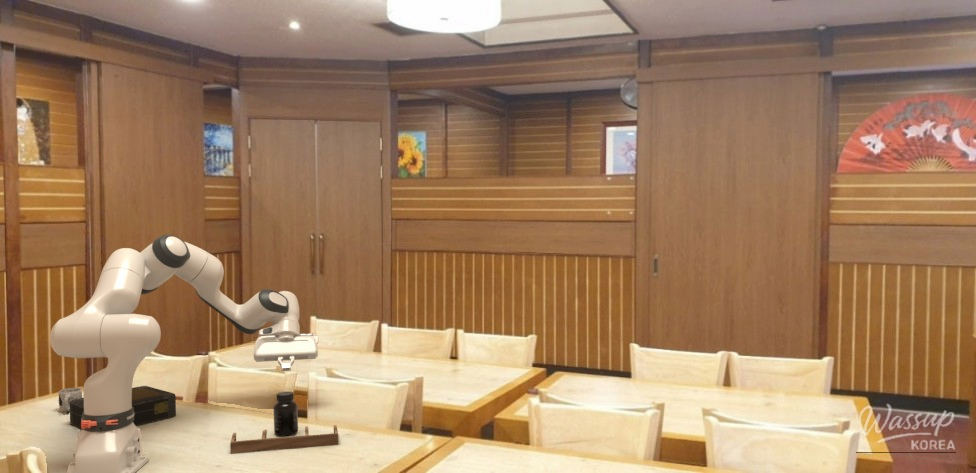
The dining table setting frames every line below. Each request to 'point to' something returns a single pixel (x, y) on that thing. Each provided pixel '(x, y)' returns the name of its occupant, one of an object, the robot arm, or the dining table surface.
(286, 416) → the supplement bottle
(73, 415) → the cash box
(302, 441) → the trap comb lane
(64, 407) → the mug
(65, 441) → the dining table surface
